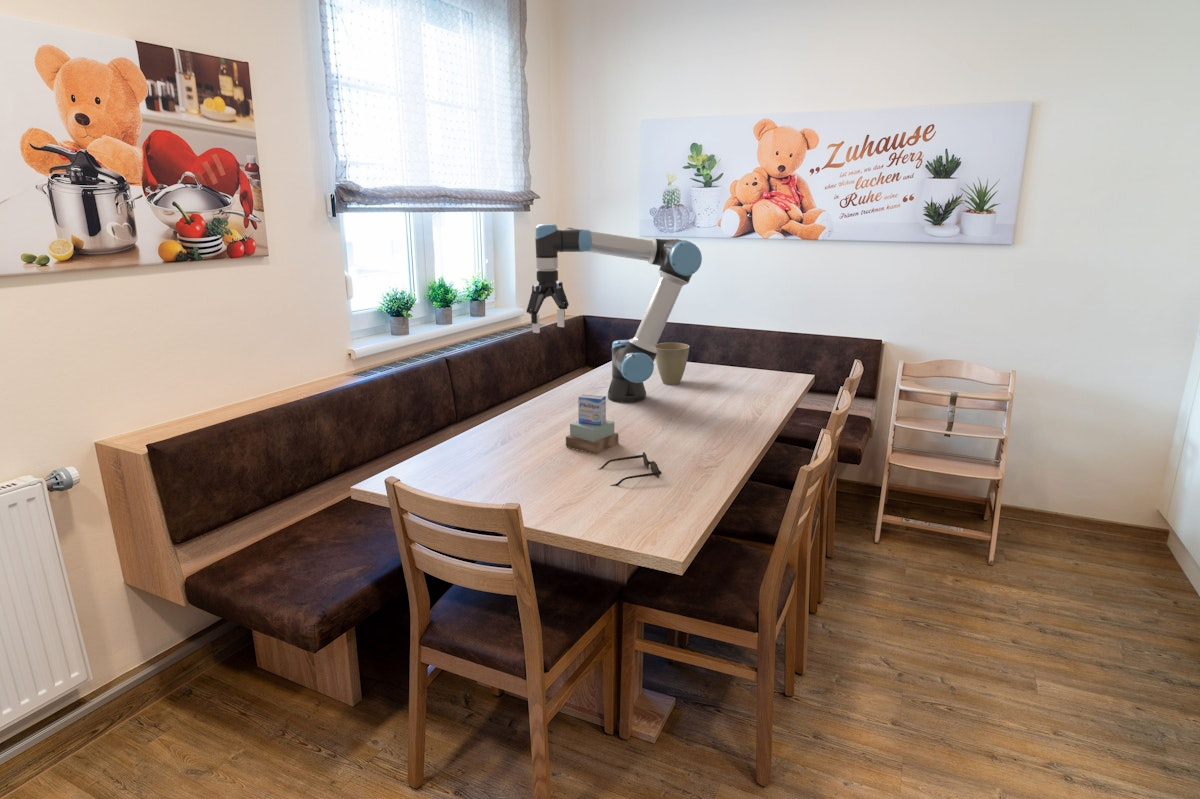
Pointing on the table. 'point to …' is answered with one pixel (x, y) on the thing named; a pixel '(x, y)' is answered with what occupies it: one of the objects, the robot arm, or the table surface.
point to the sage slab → (591, 430)
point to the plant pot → (671, 361)
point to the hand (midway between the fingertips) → (548, 329)
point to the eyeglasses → (653, 465)
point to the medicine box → (592, 409)
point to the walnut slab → (592, 443)
